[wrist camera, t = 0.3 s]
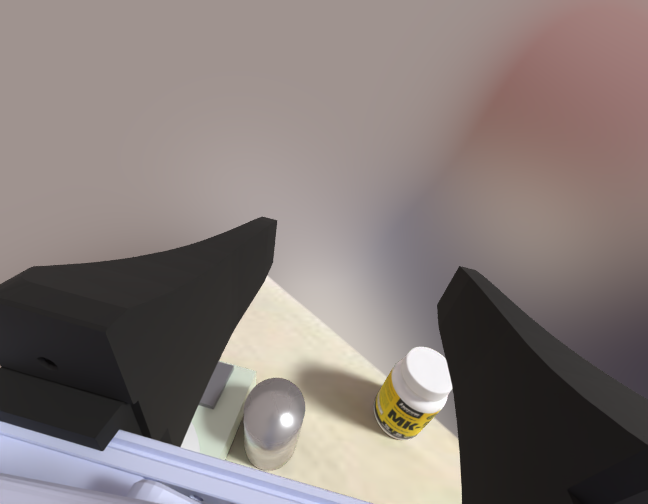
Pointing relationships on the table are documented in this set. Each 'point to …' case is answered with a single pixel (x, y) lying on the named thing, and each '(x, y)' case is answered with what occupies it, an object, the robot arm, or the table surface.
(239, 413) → the scale
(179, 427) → the robot arm
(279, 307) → the table surface
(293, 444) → the cylinder
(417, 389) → the supplement bottle
